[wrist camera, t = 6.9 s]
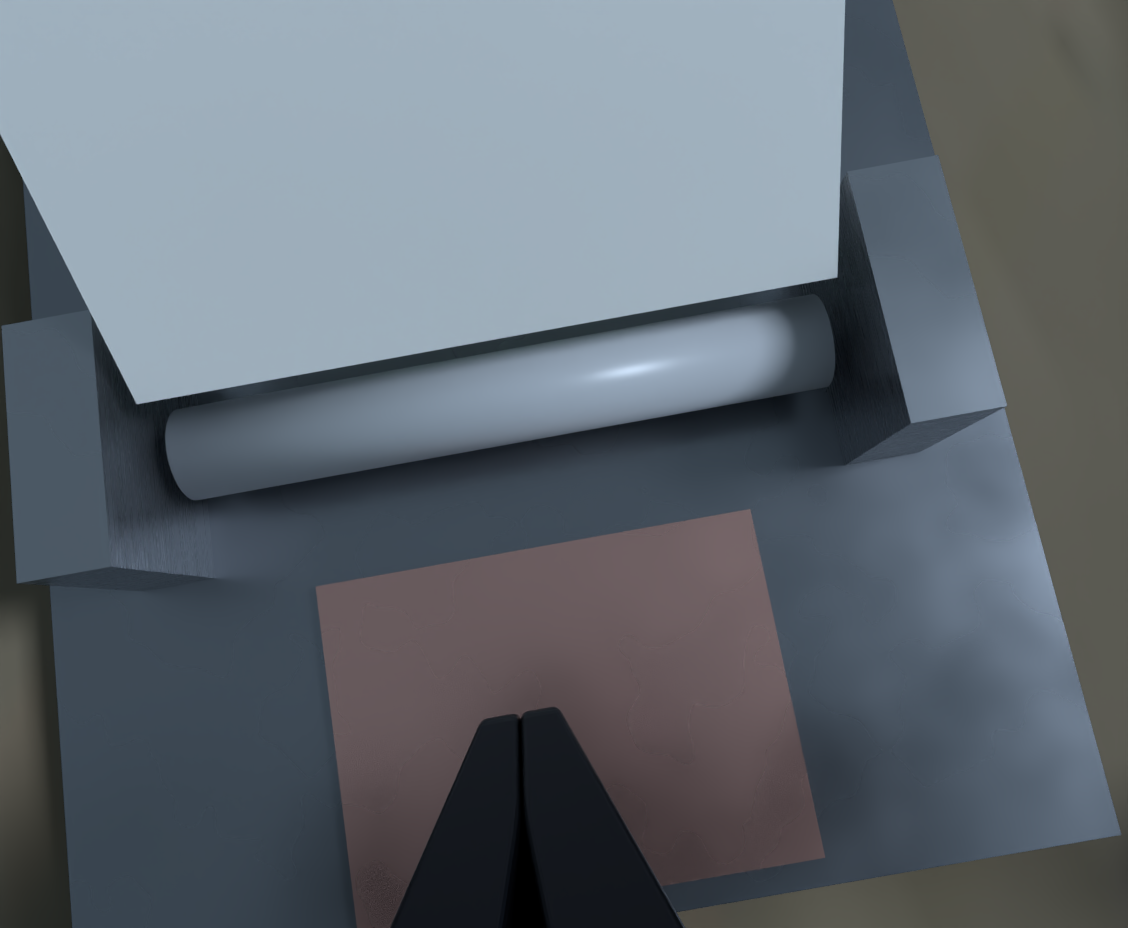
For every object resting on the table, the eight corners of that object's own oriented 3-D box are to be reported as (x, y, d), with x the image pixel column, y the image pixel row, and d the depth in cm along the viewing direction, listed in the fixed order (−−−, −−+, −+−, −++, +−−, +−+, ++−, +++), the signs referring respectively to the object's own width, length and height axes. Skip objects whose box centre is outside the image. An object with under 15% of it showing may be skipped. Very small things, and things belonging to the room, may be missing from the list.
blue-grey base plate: (1089, 821, 16) (1280, 900, 11) (110, 991, 16) (-78, 1134, 12) (856, -43, 19) (933, -244, 15) (46, 107, 19) (-121, -47, 15)
